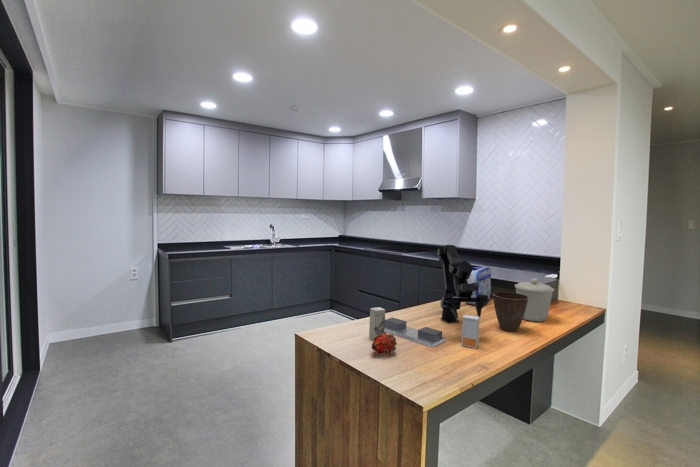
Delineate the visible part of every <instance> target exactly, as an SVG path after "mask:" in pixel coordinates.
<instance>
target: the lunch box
mask: <svg viewBox="0 0 700 467" xmlns="http://www.w3.org/2000/svg"><path fill="white" fill-rule="evenodd" d="M491 279H492V272H491V268H490V267H484V266H476V267H474V266H473V270H472V272H471V275H470V277H469V279H467V280H468V284H472V283H477V284H478V290H477V291H474V292H473V295H472V296H471V297H472V298H477V296H478V294H482V295H487V296H488V298H489V300H490V299H491V294H492V291H491V290H492V285H491V284H492V283H491V282H492V281H491ZM464 303H465V304H470V305H474V306H477V305H476V303H475V302H464Z"/></svg>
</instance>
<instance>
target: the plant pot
mask: <svg viewBox="0 0 700 467" xmlns="http://www.w3.org/2000/svg"><path fill="white" fill-rule="evenodd" d="M492 295H493V296H492V297H493V305H494V310H495V315H496V319H497V323H498V325H499V328H500V329H501V330H502V331H505V332H512V333H513V332H517V331H518V330H519V328H520V326H521V325H522V324H521V323H522V321H523V320H524V319H523V317H524V314H525V310H526V306H527V302H528V296H526V295H523V294H518V293H516V292H510V291H496V292H493V294H492Z"/></svg>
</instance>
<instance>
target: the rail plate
mask: <svg viewBox="0 0 700 467" xmlns="http://www.w3.org/2000/svg"><path fill="white" fill-rule="evenodd" d="M407 323H408V322H407V321H406V320H404V319H399V318H396V317H388V318H385V329H384V332H386V334H393V336H395V337H399V338H402V339H405V340H408V341H412V342H415V343H418V344H421V345H424V346H426V347H430V348H435V347H437V346H439V345H441V344H443V343H445V342H446V340H447V338H446V337H444V336H443V331H441V330H438V329H435V328H431V327H427V326H424V327H422V328H420V329H417V328H415V327H414V328H413V327H410V326H407V325H408V324H407Z"/></svg>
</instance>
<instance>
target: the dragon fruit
mask: <svg viewBox="0 0 700 467" xmlns="http://www.w3.org/2000/svg"><path fill="white" fill-rule="evenodd" d="M397 345H398V344H397V338H396V336H395V335H393V334H390V333H387V332H384V334H379V335H378V336H377V337H375V338H374V339H373V340H372V344H371V346H370V347H371V349H372V351H375V352H374V355H379V356H381V355H382V354H385V355H386V356H389V355H390V354H391V352H392V351H396V349H397Z"/></svg>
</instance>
